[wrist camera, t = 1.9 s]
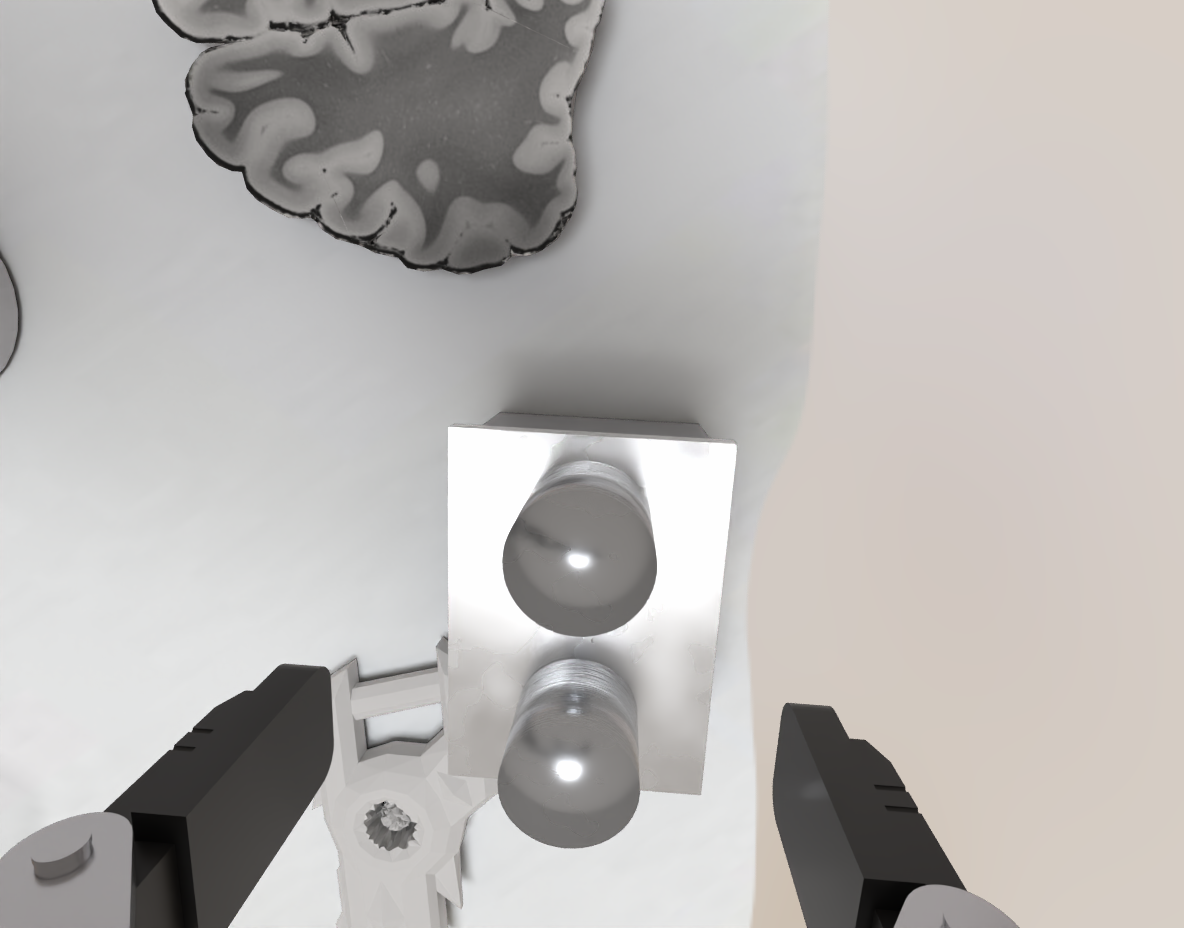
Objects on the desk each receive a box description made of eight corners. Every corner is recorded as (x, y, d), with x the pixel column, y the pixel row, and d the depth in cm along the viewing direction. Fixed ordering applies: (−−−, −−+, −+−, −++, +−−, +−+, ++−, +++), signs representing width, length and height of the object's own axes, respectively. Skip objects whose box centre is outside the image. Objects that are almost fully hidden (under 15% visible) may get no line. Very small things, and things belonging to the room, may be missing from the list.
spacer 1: (582, 607, 23) (574, 665, 19) (496, 517, 23) (470, 558, 19) (678, 529, 23) (689, 573, 19) (591, 433, 22) (584, 458, 18)
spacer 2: (573, 786, 25) (564, 872, 21) (493, 706, 24) (468, 780, 21) (662, 719, 24) (669, 796, 20) (581, 635, 24) (572, 698, 20)
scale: (687, 679, 32) (701, 760, 26) (495, 665, 32) (466, 742, 26) (711, 424, 29) (733, 450, 23) (499, 412, 29) (469, 435, 24)
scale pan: (698, 780, 26) (700, 795, 25) (453, 761, 26) (448, 775, 25) (733, 440, 23) (737, 444, 22) (454, 423, 23) (448, 427, 22)
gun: (509, 988, 33) (321, 985, 33) (521, 929, 36) (350, 927, 37) (482, 657, 30) (276, 660, 30) (497, 626, 33) (312, 629, 34)
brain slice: (144, -185, 25) (82, -251, 22) (565, -292, 24) (556, -377, 21) (276, 315, 29) (238, 315, 26) (642, 250, 28) (644, 242, 25)
